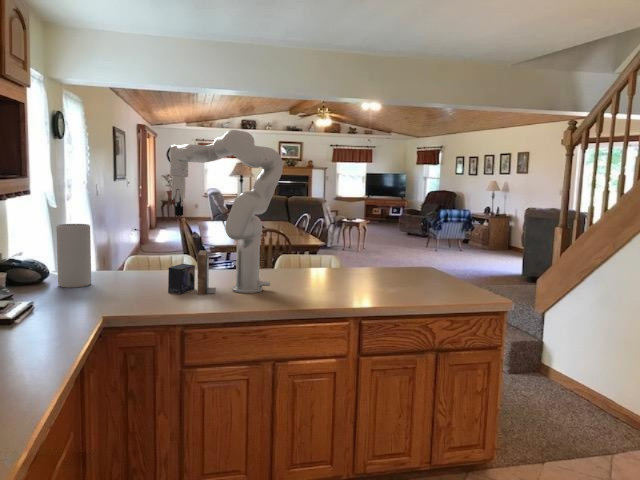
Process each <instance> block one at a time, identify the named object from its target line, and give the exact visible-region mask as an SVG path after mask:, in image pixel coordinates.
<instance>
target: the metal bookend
mask: <svg viewBox="0 0 640 480" xmlns="http://www.w3.org/2000/svg"><path fill="white" fill-rule="evenodd" d="M209 259H210V255H208V254H207V258H206V272H205V295H215V293H216V289H217V288H216V287H209V283H210V282H209V280H210V279H209V276H210V275H209V274H210V272H209V270H210V267H209V265H210V264H209V263H210V262H209V261H210V260H209Z"/></svg>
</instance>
